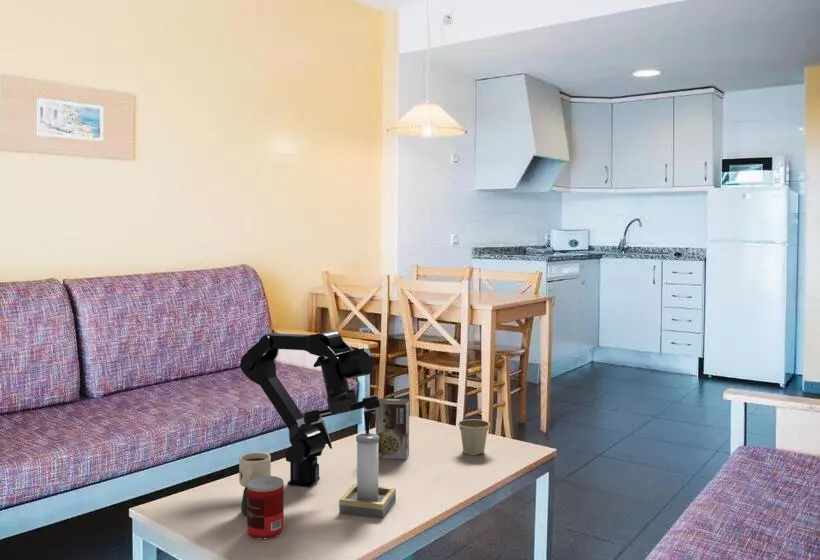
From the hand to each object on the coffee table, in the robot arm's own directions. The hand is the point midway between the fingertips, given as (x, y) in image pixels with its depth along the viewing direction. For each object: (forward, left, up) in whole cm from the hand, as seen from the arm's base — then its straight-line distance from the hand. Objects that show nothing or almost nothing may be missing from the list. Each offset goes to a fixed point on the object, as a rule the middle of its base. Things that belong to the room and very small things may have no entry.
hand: (349, 444), depth 173 cm
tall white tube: (+7, -7, -10) cm, 14 cm away
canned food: (-10, -26, -13) cm, 30 cm away
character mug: (-17, -17, -13) cm, 27 cm away
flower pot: (+24, +41, -13) cm, 50 cm away
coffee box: (+2, +31, -13) cm, 34 cm away
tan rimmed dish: (+7, -7, -13) cm, 16 cm away
